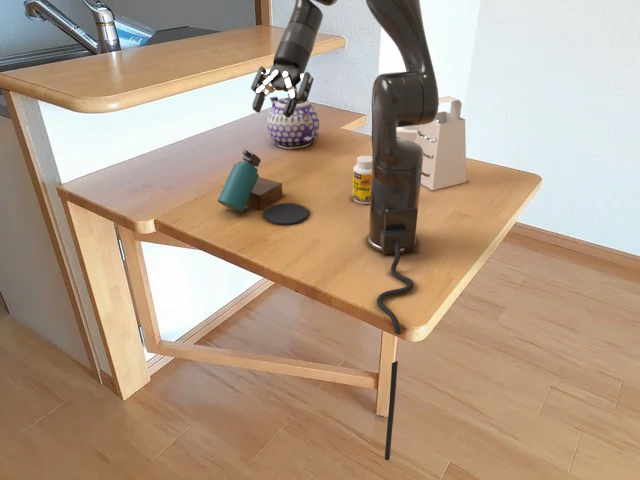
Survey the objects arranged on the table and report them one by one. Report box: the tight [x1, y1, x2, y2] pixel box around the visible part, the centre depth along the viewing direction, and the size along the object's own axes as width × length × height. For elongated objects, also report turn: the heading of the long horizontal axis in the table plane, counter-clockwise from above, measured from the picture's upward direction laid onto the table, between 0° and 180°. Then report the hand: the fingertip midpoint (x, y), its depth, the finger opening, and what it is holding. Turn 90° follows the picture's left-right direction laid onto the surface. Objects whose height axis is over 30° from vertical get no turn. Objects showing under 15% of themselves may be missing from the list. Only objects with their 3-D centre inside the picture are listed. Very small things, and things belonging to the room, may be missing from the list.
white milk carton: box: [397, 125, 419, 142], centre depth 147 cm, size 7×7×12 cm
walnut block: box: [246, 176, 283, 210], centre depth 122 cm, size 8×8×4 cm
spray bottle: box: [217, 149, 262, 213], centre depth 116 cm, size 12×6×13 cm, turn 147°
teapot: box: [266, 93, 320, 150], centre depth 153 cm, size 25×15×15 cm, turn 31°
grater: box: [415, 95, 467, 191], centre depth 128 cm, size 10×10×20 cm
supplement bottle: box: [352, 155, 372, 205], centre depth 120 cm, size 6×6×10 cm
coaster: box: [263, 202, 309, 226], centre depth 116 cm, size 10×10×1 cm
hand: (270, 113), depth 118 cm, fingers open, 8 cm apart
